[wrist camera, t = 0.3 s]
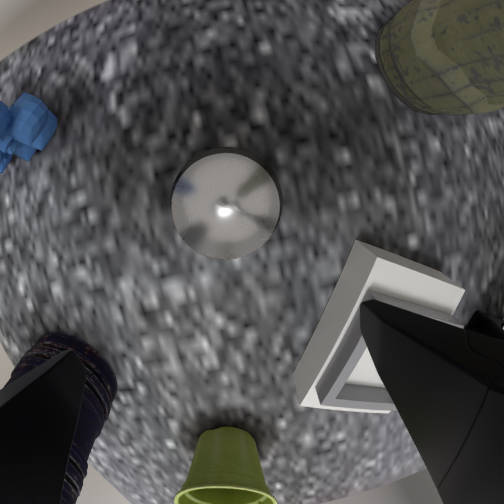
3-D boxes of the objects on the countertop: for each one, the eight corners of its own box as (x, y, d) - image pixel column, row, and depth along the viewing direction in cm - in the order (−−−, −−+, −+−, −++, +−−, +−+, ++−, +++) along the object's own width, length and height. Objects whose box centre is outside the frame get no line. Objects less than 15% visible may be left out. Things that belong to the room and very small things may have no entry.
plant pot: (175, 452, 30) (166, 513, 21) (194, 405, 27) (185, 479, 19) (251, 467, 31) (255, 526, 23) (283, 424, 28) (294, 493, 20)
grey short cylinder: (281, 163, 20) (302, 169, 14) (255, 239, 22) (263, 278, 15) (201, 138, 20) (184, 132, 13) (178, 216, 21) (153, 246, 15)
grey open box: (439, 271, 24) (479, 300, 18) (374, 386, 27) (396, 428, 22) (355, 239, 22) (390, 268, 17) (292, 374, 26) (304, 423, 20)
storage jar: (116, 418, 28) (80, 532, 13) (39, 386, 26) (-17, 482, 12) (121, 352, 25) (59, 493, 10) (30, 316, 23) (-59, 418, 9)
